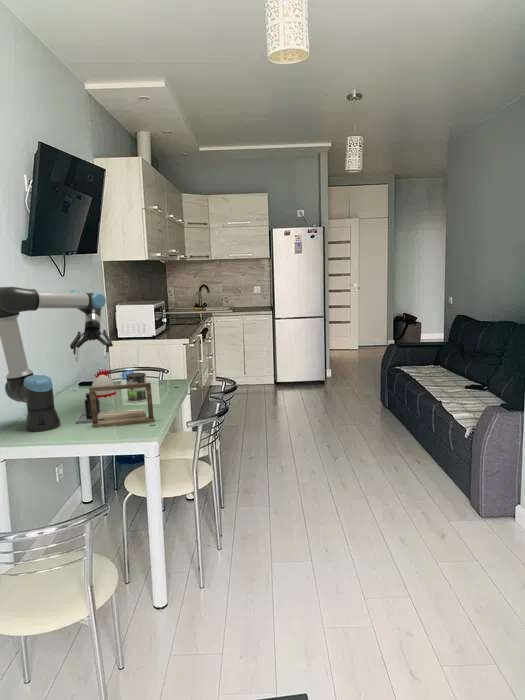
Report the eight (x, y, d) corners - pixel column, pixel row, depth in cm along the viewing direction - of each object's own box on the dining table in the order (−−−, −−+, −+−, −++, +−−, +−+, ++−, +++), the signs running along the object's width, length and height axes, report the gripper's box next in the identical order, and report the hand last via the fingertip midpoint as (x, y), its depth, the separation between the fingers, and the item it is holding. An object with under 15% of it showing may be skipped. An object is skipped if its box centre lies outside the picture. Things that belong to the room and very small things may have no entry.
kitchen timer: (119, 394, 309) (117, 369, 307) (95, 399, 302) (92, 372, 299) (111, 391, 321) (108, 366, 319) (87, 395, 313) (85, 369, 311)
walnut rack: (153, 422, 248) (150, 384, 245) (92, 427, 244) (88, 389, 242) (154, 418, 254) (150, 381, 251) (94, 424, 250) (90, 386, 248)
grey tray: (105, 421, 254) (105, 418, 253) (76, 424, 252) (75, 420, 252) (109, 414, 267) (108, 411, 266) (81, 416, 265) (80, 413, 264)
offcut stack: (145, 420, 247) (144, 411, 247) (97, 424, 245) (96, 415, 244) (146, 417, 253) (145, 408, 252) (99, 421, 250) (98, 412, 249)
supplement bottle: (89, 416, 263) (86, 391, 261) (103, 415, 262) (100, 391, 261) (83, 419, 256) (81, 395, 254) (98, 419, 256) (95, 394, 254)
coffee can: (141, 402, 287) (138, 376, 285) (124, 402, 291) (122, 376, 289) (151, 398, 297) (149, 372, 295) (135, 397, 300) (132, 372, 298)
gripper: (118, 327, 283) (118, 360, 270) (68, 331, 279) (66, 364, 267) (116, 318, 277) (115, 351, 264) (65, 321, 273) (62, 355, 261)
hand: (90, 358), depth 266 cm, fingers open, 13 cm apart
